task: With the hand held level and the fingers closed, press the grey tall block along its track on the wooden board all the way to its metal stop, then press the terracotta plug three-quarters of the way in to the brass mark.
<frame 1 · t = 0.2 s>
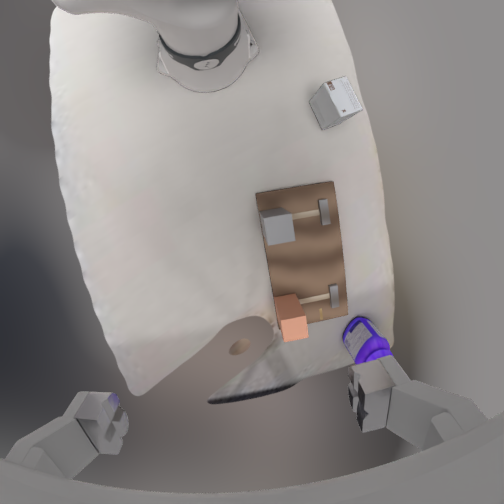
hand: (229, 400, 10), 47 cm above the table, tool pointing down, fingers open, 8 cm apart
bottle: (355, 330, 62), on the table
skincare box: (323, 112, 52), on the table
grey tall block: (275, 224, 49), point 7 cm above the table, slide at 0.0 cm
plug terracotta: (290, 316, 53), point 7 cm above the table, slide at 0.0 cm
wooden board: (304, 256, 58), on the table
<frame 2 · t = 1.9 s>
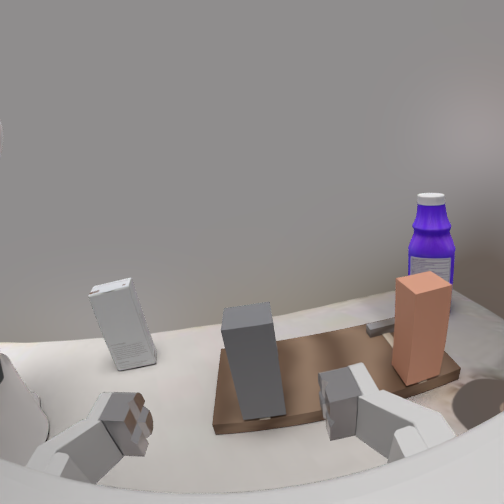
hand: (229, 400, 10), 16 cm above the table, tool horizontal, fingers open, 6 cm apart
bottle: (428, 311, 41), on the table
skincare box: (137, 362, 41), on the table
grey tall block: (255, 364, 26), point 7 cm above the table, slide at 0.0 cm
plug terracotta: (420, 329, 26), point 7 cm above the table, slide at 0.0 cm
wooden board: (332, 373, 33), on the table
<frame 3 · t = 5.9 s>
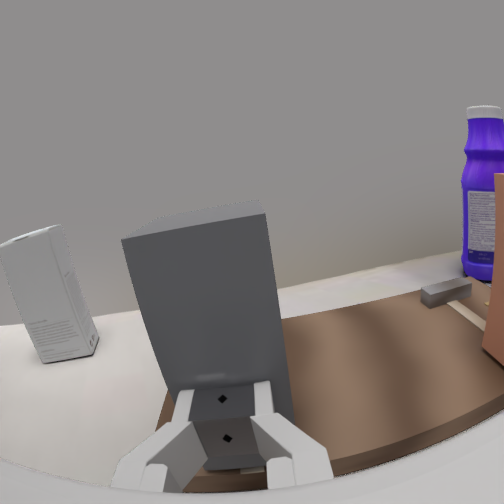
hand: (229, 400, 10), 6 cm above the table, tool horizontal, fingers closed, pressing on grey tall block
bottle: (489, 276, 26), on the table
skincare box: (70, 353, 26), on the table
grey tall block: (228, 348, 11), point 7 cm above the table, slide at 0.1 cm, touching gripper
wooden board: (378, 371, 18), on the table
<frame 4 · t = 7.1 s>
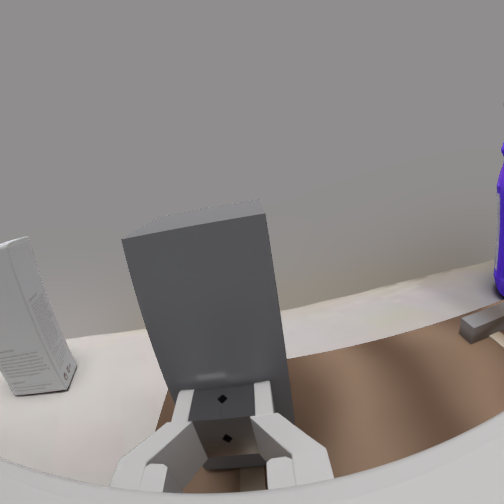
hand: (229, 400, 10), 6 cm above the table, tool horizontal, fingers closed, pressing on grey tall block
skincare box: (45, 384, 20), on the table
grey tall block: (228, 348, 11), point 7 cm above the table, slide at 5.7 cm, touching gripper
wooden board: (413, 430, 12), on the table
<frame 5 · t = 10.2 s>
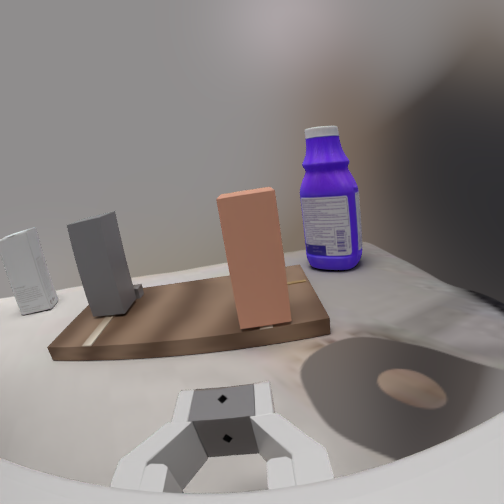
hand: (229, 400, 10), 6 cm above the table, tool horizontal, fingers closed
bottle: (335, 266, 40), on the table
skincare box: (40, 309, 39), on the table
grey tall block: (102, 264, 30), point 7 cm above the table, slide at 5.9 cm
plug terracotta: (255, 256, 24), point 7 cm above the table, slide at 0.0 cm
wooden board: (185, 318, 31), on the table
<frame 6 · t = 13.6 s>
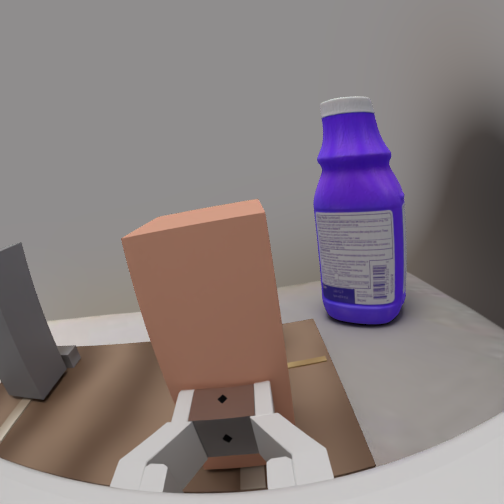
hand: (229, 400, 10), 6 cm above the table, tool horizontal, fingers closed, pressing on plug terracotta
bottle: (365, 314, 25), on the table
grey tall block: (9, 323, 16), point 7 cm above the table, slide at 5.9 cm
plug terracotta: (228, 347, 11), point 7 cm above the table, slide at 1.1 cm, touching gripper
wooden board: (130, 413, 17), on the table
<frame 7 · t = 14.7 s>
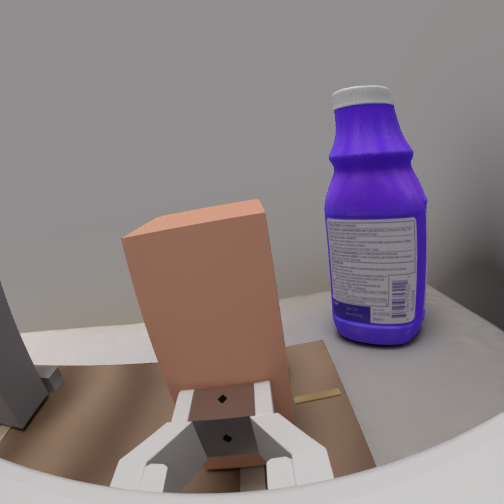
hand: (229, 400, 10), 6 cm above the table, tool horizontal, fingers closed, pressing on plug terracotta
bottle: (379, 331, 22), on the table
plug terracotta: (228, 347, 11), point 7 cm above the table, slide at 4.3 cm, touching gripper
wooden board: (116, 448, 14), on the table
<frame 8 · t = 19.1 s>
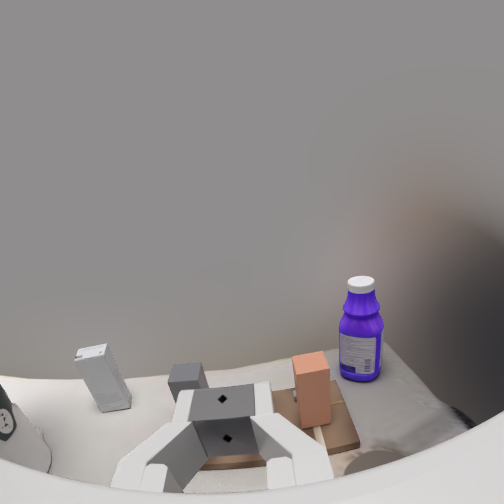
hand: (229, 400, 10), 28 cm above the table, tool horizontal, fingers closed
bottle: (360, 374, 48), on the table
skincare box: (116, 405, 48), on the table
grey tall block: (194, 399, 39), point 7 cm above the table, slide at 5.9 cm
plug terracotta: (312, 391, 38), point 7 cm above the table, slide at 4.4 cm
wooden board: (259, 430, 40), on the table
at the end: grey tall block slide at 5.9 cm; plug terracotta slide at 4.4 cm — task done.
